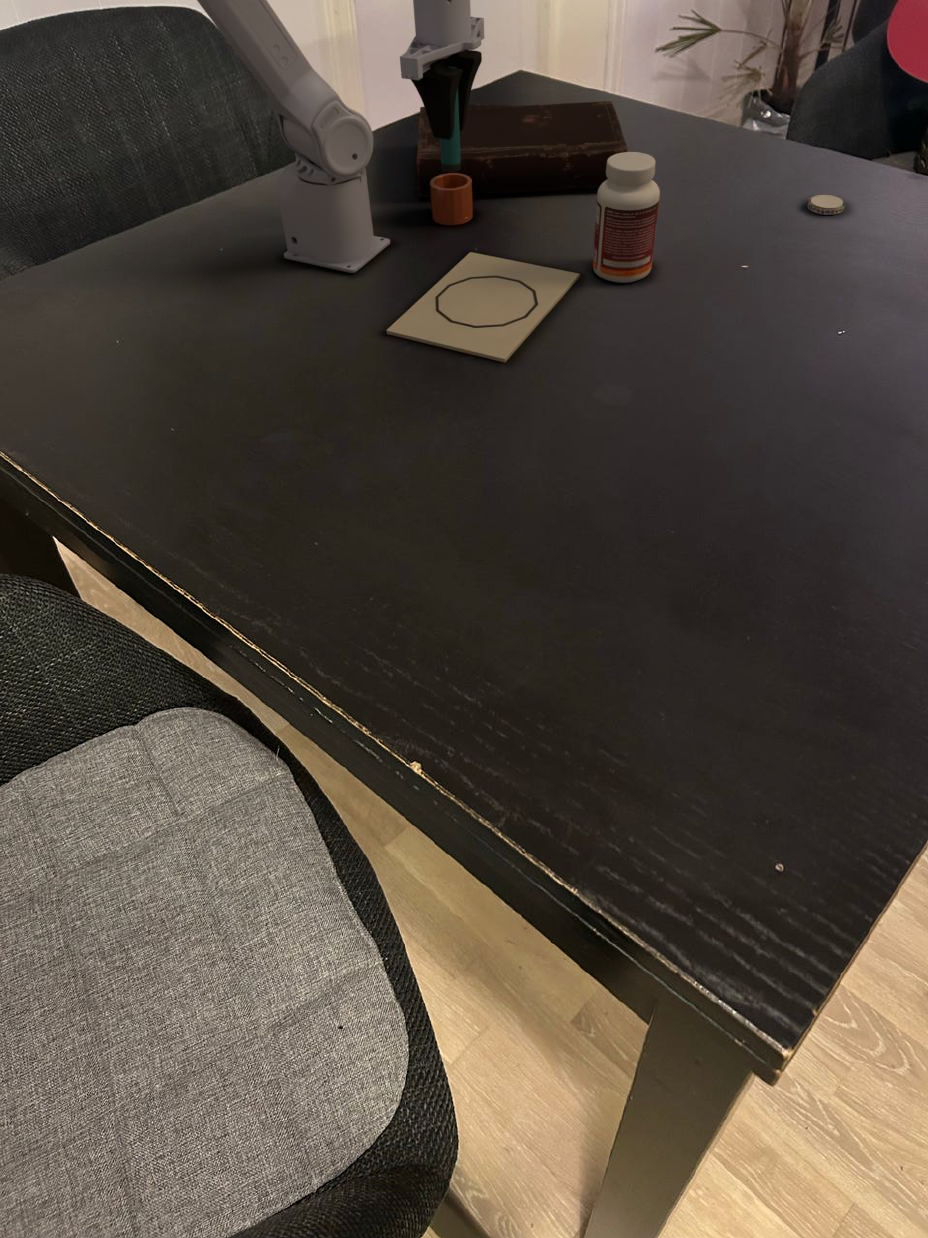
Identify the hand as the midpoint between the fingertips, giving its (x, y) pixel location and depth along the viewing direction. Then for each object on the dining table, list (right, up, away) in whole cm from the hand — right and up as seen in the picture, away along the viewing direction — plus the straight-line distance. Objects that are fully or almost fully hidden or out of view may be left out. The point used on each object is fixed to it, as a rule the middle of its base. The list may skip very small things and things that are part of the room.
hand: (448, 133), depth 97 cm
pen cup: (0, -6, +7) cm, 9 cm away
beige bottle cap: (+43, -6, +4) cm, 44 cm away
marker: (0, -3, +3) cm, 4 cm away
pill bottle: (+18, -17, -4) cm, 25 cm away
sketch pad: (+4, -22, -7) cm, 23 cm away
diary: (+9, +4, +16) cm, 19 cm away
